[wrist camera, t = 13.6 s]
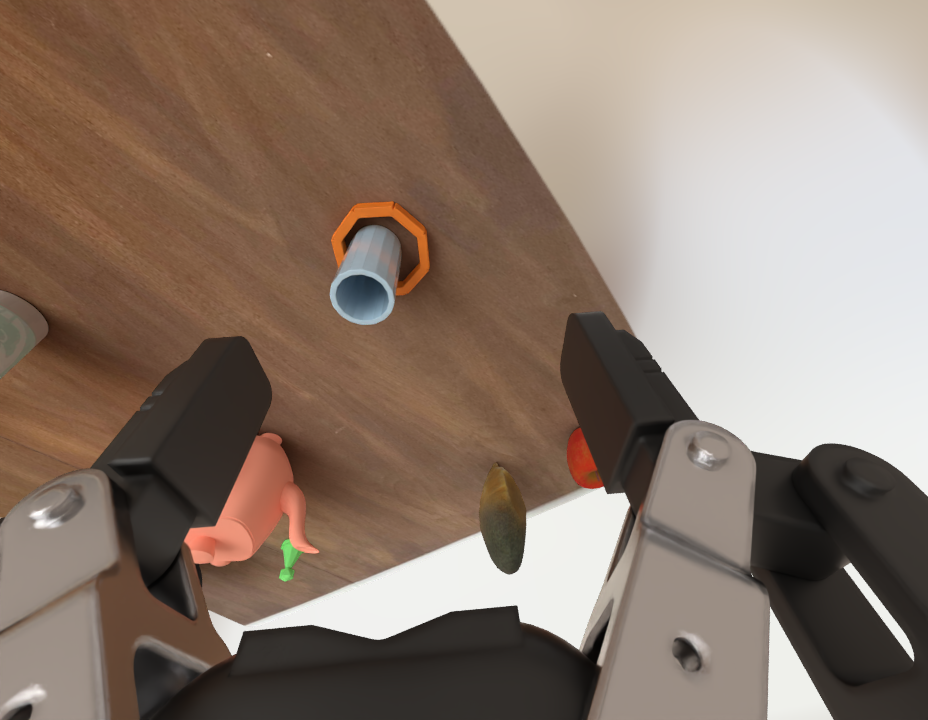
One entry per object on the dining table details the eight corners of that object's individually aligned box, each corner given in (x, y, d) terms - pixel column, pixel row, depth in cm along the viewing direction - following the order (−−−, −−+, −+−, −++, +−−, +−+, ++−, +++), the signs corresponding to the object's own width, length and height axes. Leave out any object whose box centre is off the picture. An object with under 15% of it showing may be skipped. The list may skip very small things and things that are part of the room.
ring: (326, 205, 30) (322, 210, 29) (423, 199, 31) (423, 204, 30) (349, 291, 35) (346, 299, 34) (432, 286, 36) (432, 293, 35)
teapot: (229, 390, 42) (162, 499, 31) (341, 458, 51) (319, 560, 41) (152, 448, 47) (73, 558, 37) (267, 501, 56) (230, 601, 46)
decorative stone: (509, 481, 57) (530, 587, 46) (471, 481, 57) (481, 589, 45) (520, 440, 51) (546, 551, 40) (476, 441, 51) (490, 553, 39)
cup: (346, 226, 32) (322, 271, 25) (397, 223, 32) (388, 267, 25) (357, 273, 34) (338, 326, 27) (404, 270, 34) (398, 322, 27)
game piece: (307, 538, 64) (297, 575, 59) (309, 550, 66) (299, 586, 62) (280, 538, 63) (268, 575, 58) (283, 549, 66) (272, 586, 61)
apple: (557, 422, 50) (574, 470, 44) (603, 413, 49) (626, 460, 43) (559, 451, 53) (575, 498, 48) (602, 443, 53) (623, 489, 47)
